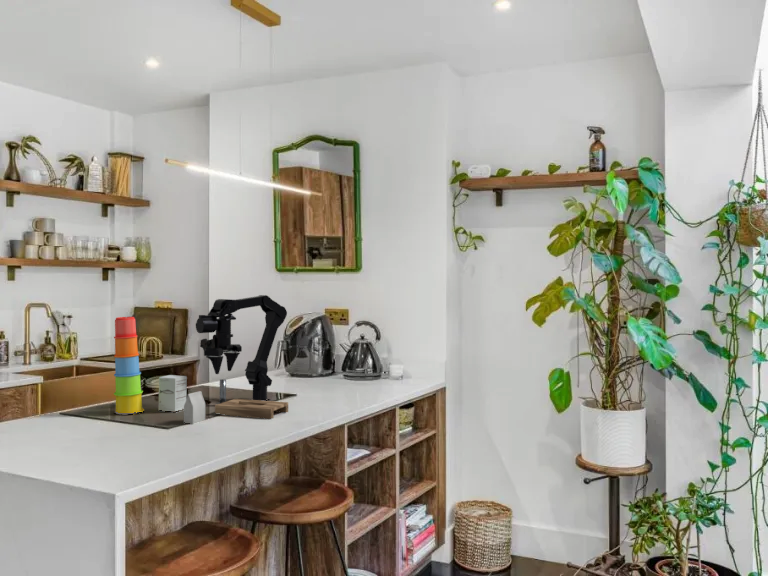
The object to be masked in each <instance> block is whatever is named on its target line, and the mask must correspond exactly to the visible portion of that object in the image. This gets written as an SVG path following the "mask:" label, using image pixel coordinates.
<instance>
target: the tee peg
mask: <svg viewBox="0 0 768 576" xmlns="http://www.w3.org/2000/svg"><path fill="white" fill-rule="evenodd" d="M223 402H227V379H226V378H223V379H222V378H220V379H219V402H216V405H217V404H220V403H223Z"/></svg>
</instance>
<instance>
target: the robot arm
mask: <svg viewBox="0 0 768 576" xmlns="http://www.w3.org/2000/svg"><path fill="white" fill-rule="evenodd" d="M254 307H260V309H261V310H262V312H264V313H265V317H264V319H265V328H264V330H263V333H262V337H261V340H260V342H259V345H258V347H257V352H256V354H255V357H254V359H253V360H252V361H250V360H249V361H248V362H247V365H246V368H245V369H244V371H245V375H244V376H245V378H246V379H247V381H248V384H249V385H252V399H253V400H266V399H267V398H268V387H271V386H272V382H273V379H272V378H270V376H269V375H268V370H269V367H268V359H269V356H270V353H271V350H272V347H273V343H274V341H275V338H276V336H277V333H278V329H279V327H281V326H282V324H283V323H284V322H285V320H286V319H287V314H288V311H287V309H286V307H285V306H283V305H280V304H279V303H278V302H277V301H275V300H273V299H272V298H271V297H270V296H268V295H266V294H265V295H264V294H259V295H257V296H250V297H245V298H238V299H224V298H218V299H217V298H216V300H214V302H213V306H212V307H211V309H210V310H209V312H208V314H207V315H205V314H199V315H198V318H197V320H196V322H195V330H196V332H197V333H199V334H209V333H212V334H213V333H215V334H213V335H212V338H211V339H208V338H202V339H200V342H199V344H200V345H199V347H200V348H202V350H203V356H204V357H205V358H207V359H209V361H210V362H211V364H212V368H213V370H214V373H215V375H219V374H220V371H221V367H222V363H223V359H224V356H225V358H226V366H227V367H226V369H227V371H228V372H231V371H232V369H233V367H234V365H235V362H236V360H237V358H238V356H239V355H240V354H241V353H240V352H242V346H241V344H239V343H238V344H237V343H232V338H233V337H234V333H232V321H235V320H237V317H236V316H235V315H233V313H236V312H237V311H239V310H242V309H247V308H249V309H250V308H254ZM223 355H224V356H223Z"/></svg>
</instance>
